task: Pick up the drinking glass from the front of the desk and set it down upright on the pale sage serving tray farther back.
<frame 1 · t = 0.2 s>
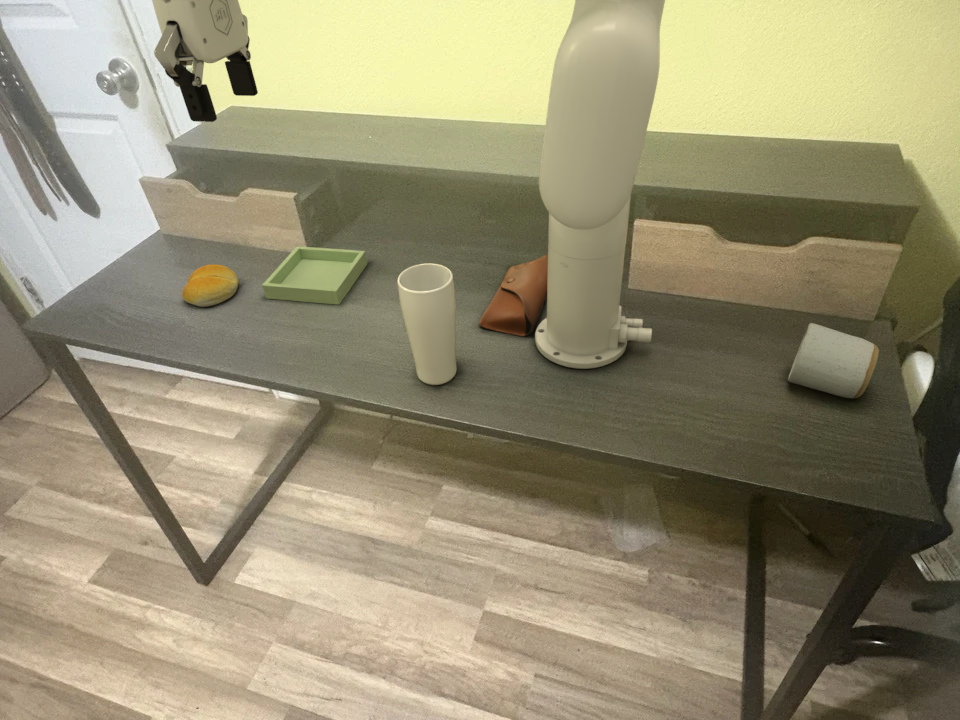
hand: (226, 107, 77), 31 cm above the table, tool pointing down, fingers open, 9 cm apart
sunglasses case: (520, 301, 97), on the table
tray: (318, 280, 104), on the table
drinking glass: (437, 375, 84), on the table
bread roll: (213, 293, 103), on the table
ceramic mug: (822, 379, 80), on the table
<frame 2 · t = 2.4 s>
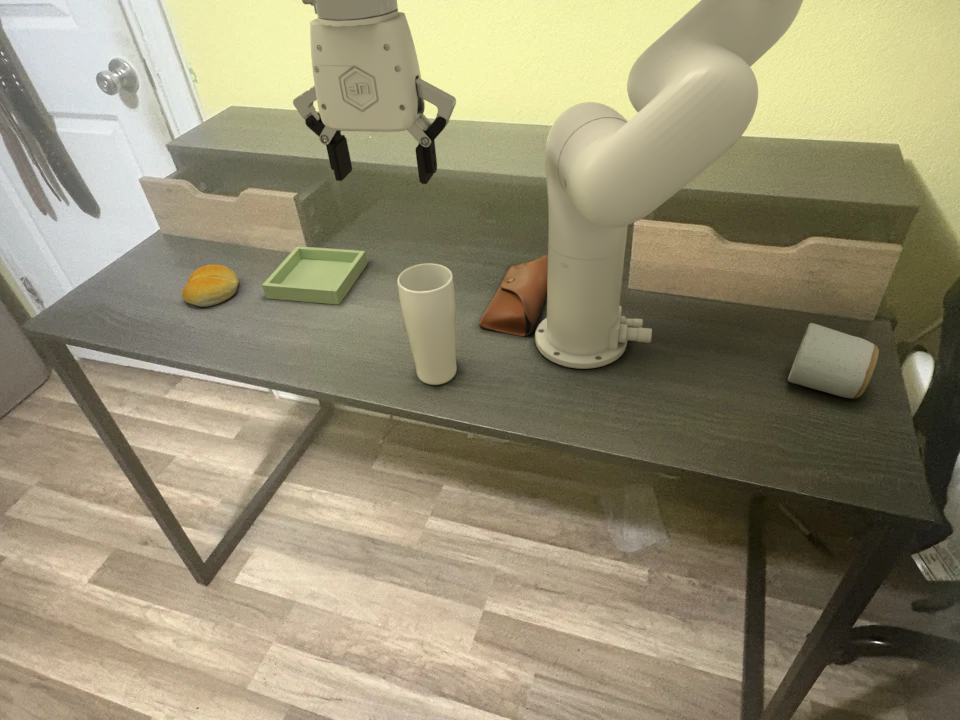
hand: (385, 177, 69), 27 cm above the table, tool pointing down, fingers open, 9 cm apart
nothing on the table moved.
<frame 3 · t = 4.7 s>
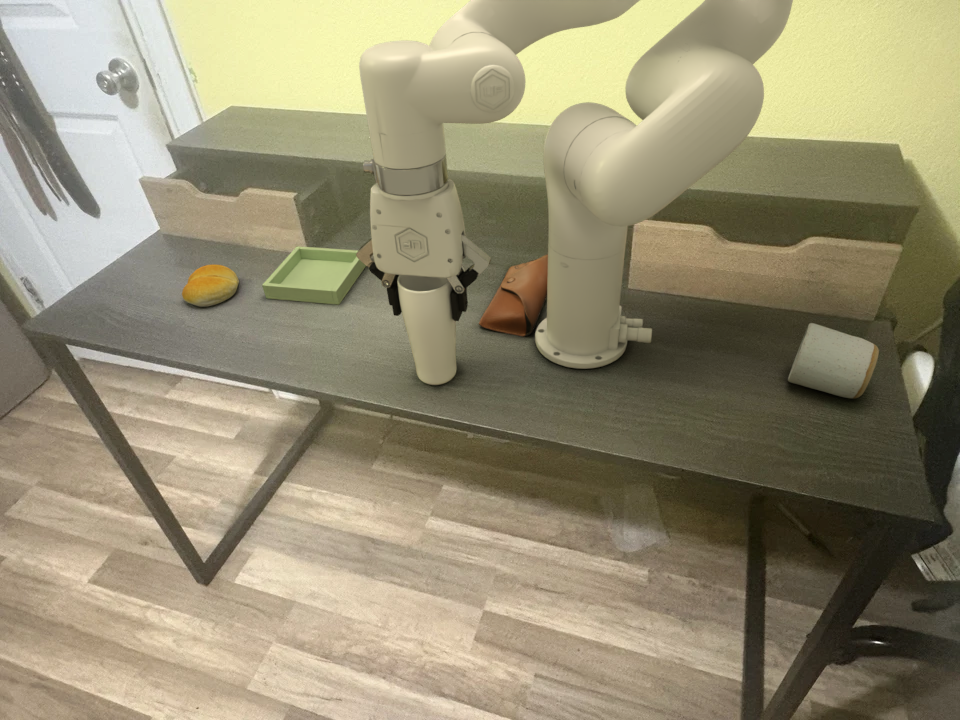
hand: (429, 311, 78), 10 cm above the table, tool pointing down, fingers closed on drinking glass, 6 cm apart
drinking glass: (437, 374, 84), on the table, touching gripper
everything else where it was.
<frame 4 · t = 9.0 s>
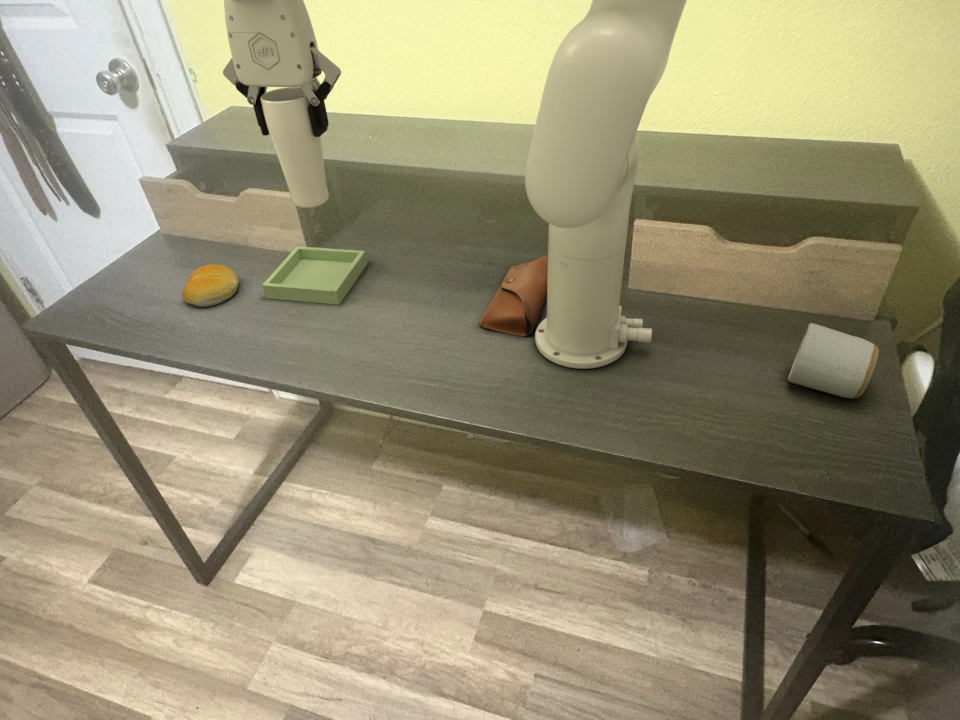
hand: (295, 131, 85), 26 cm above the table, tool pointing down, fingers closed on drinking glass, 6 cm apart
drinking glass: (311, 202, 92), point 15 cm above the table, touching gripper
everything else where it was.
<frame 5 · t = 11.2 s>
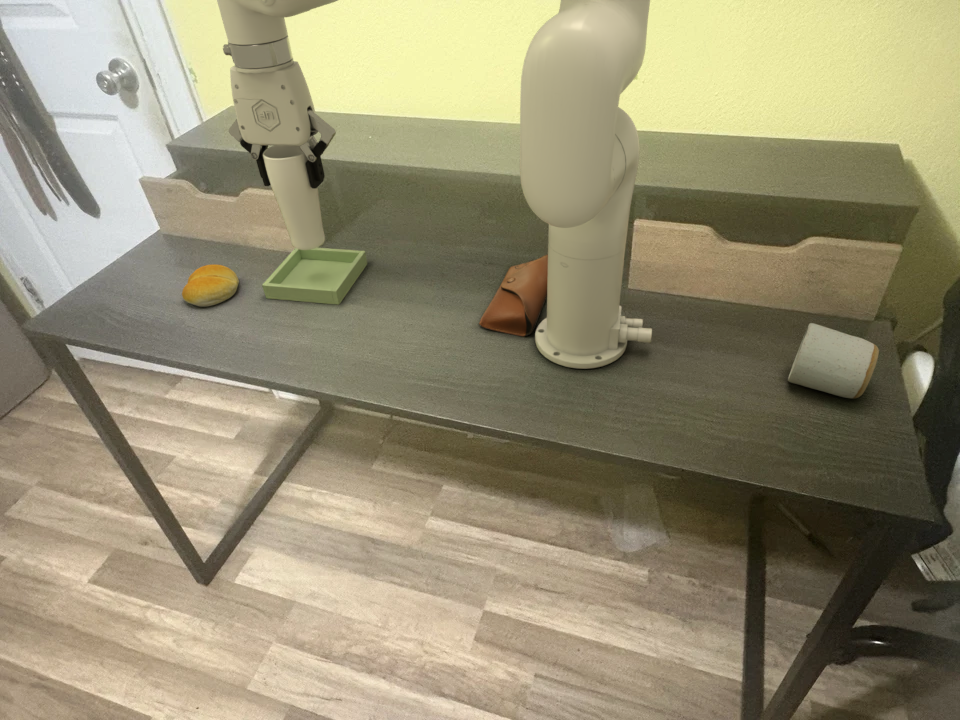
hand: (294, 182, 94), 17 cm above the table, tool pointing down, fingers closed on drinking glass, 6 cm apart
drinking glass: (309, 244, 100), point 7 cm above the table, touching gripper
everything else where it was.
when the fingers open (11 cm above the table, at t = 13.2 s): drinking glass stays where it is, resting on tray.
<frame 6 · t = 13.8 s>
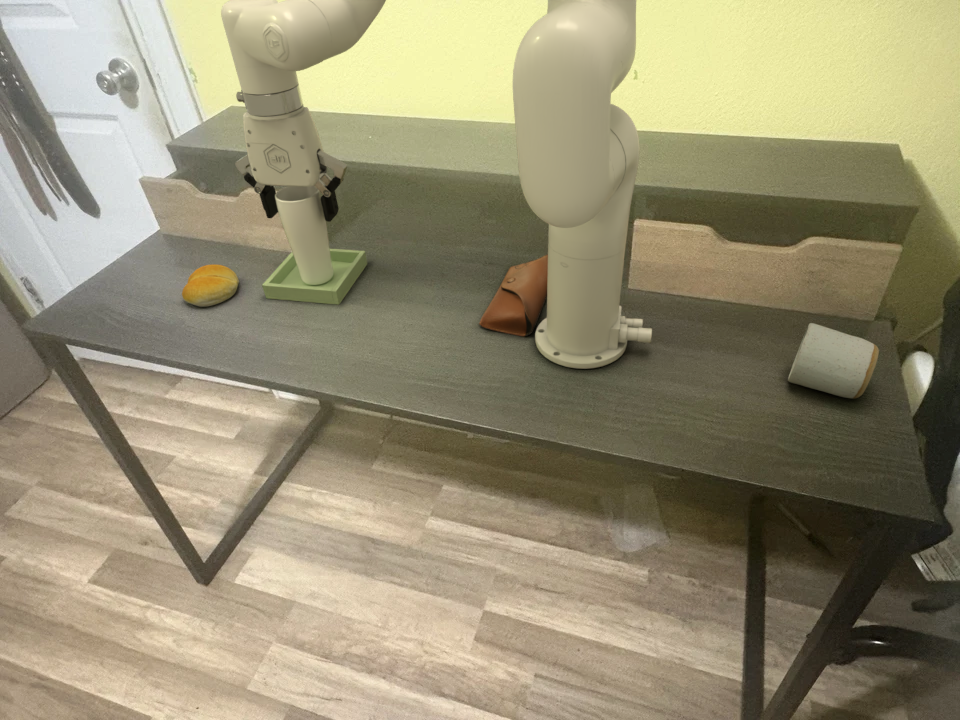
hand: (302, 216, 97), 12 cm above the table, tool pointing down, fingers open, 9 cm apart
drinking glass: (318, 279, 104), resting on tray
everything else where it was.
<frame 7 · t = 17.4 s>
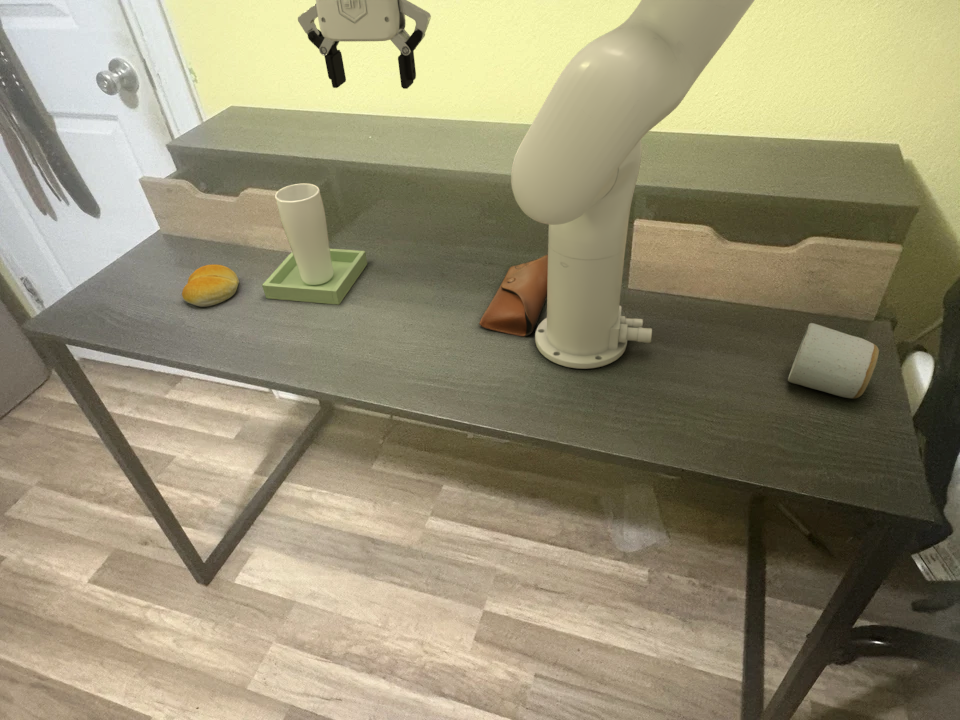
hand: (373, 85, 84), 30 cm above the table, tool pointing down, fingers open, 9 cm apart
nothing on the table moved.
at the end: drinking glass inside the target area in the tray (0.1 cm from its centre), point 0.3 cm above the tray's base; drinking glass tilted 0°; the gripper is holding nothing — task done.
